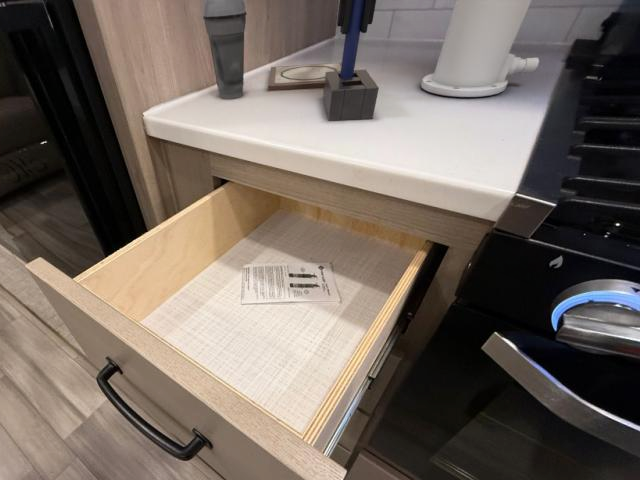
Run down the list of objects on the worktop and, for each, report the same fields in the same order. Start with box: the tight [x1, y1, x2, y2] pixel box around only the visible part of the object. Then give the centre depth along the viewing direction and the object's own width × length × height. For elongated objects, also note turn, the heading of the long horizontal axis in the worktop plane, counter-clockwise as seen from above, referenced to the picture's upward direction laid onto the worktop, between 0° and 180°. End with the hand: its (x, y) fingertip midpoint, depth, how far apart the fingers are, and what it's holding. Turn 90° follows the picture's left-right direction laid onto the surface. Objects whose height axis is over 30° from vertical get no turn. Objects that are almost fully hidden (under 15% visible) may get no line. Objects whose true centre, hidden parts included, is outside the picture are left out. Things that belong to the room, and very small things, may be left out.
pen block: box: [322, 68, 380, 122], centre depth 50 cm, size 6×11×4 cm, turn 174°
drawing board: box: [267, 61, 342, 91], centre depth 66 cm, size 16×16×1 cm
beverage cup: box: [202, 0, 247, 100], centre depth 54 cm, size 7×7×20 cm
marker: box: [340, 0, 365, 78], centre depth 47 cm, size 2×2×13 cm
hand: (353, 31), depth 46 cm, fingers closed on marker, 2 cm apart
